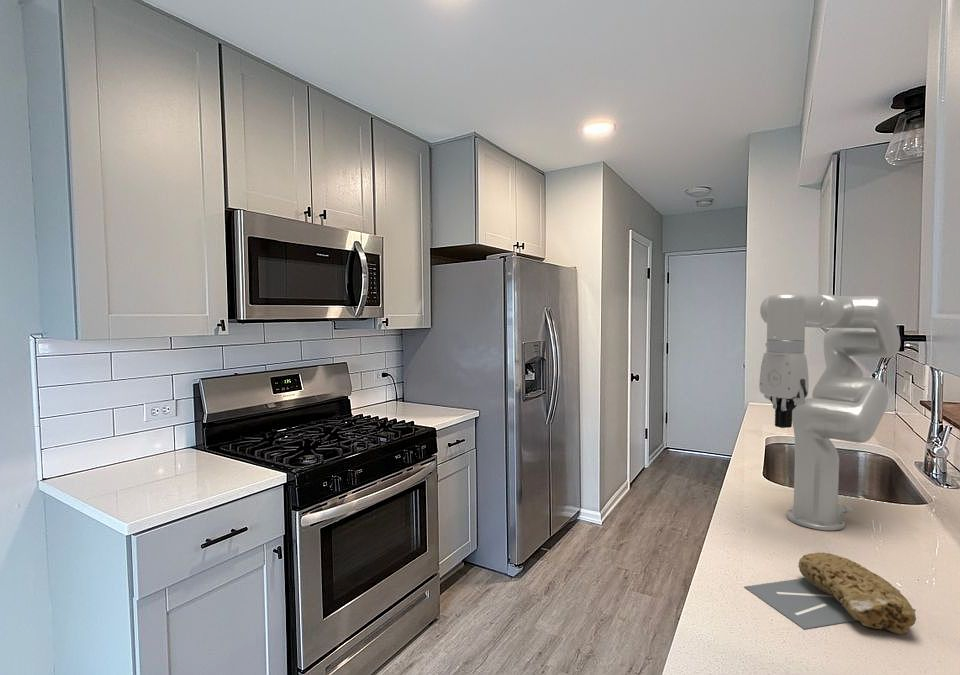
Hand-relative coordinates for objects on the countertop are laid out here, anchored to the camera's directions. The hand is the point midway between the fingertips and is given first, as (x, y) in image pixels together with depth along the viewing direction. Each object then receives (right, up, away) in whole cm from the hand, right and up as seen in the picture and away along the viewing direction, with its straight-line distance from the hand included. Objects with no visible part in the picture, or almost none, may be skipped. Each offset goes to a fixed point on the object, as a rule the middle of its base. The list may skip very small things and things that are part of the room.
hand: (783, 426), depth 120 cm
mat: (-6, -28, -23) cm, 37 cm away
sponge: (-3, -28, -25) cm, 38 cm away
